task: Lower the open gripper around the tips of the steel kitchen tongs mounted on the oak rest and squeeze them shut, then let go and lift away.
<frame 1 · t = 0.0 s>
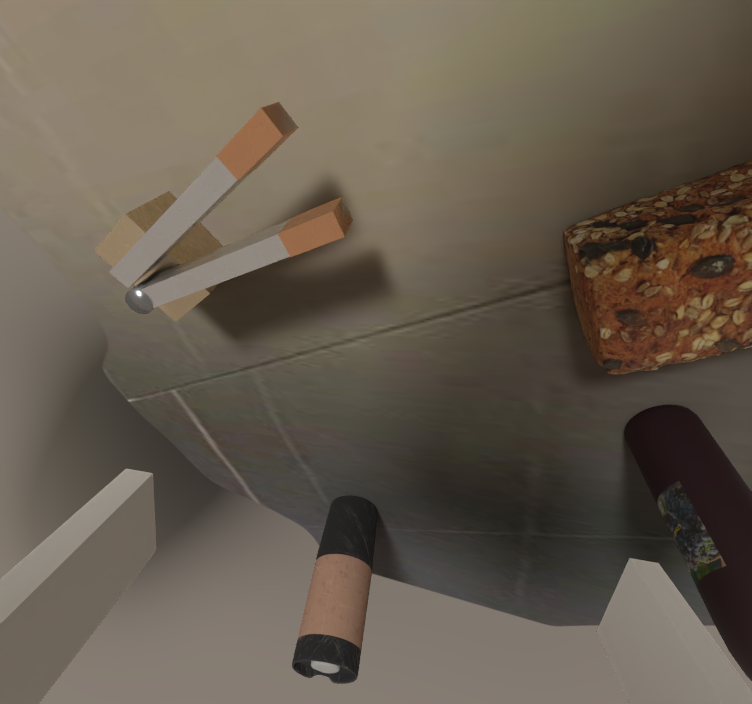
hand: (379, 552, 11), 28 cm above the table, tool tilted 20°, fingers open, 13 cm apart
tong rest: (189, 244, 37), on the table
bread: (688, 236, 32), on the table
travel mug: (354, 508, 61), on the table
wine bottle: (658, 425, 44), on the table
tong arm: (232, 260, 29), point 8 cm above the table, hinge at 15.0°
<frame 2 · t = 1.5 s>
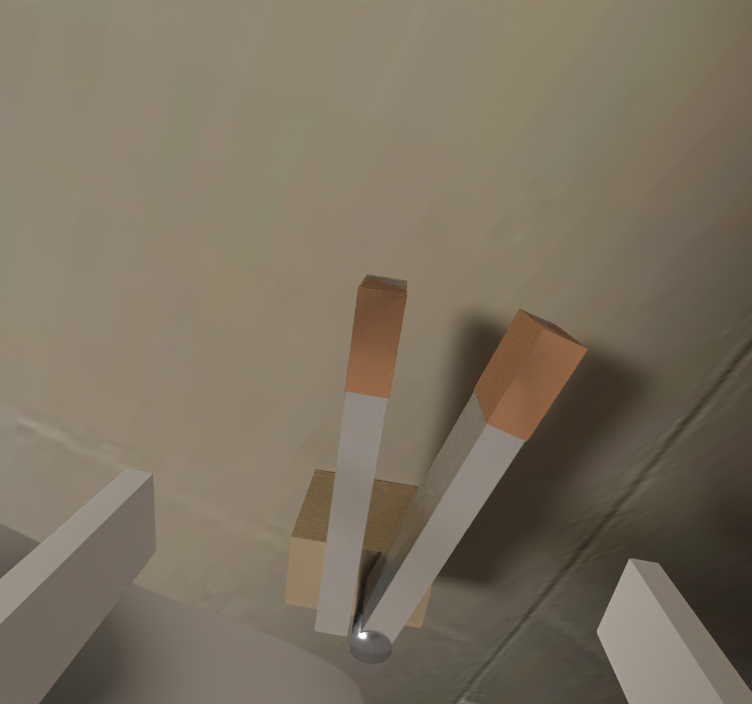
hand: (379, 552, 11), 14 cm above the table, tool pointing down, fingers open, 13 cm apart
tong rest: (368, 509, 28), on the table
tong arm: (443, 503, 18), point 8 cm above the table, hinge at 15.0°
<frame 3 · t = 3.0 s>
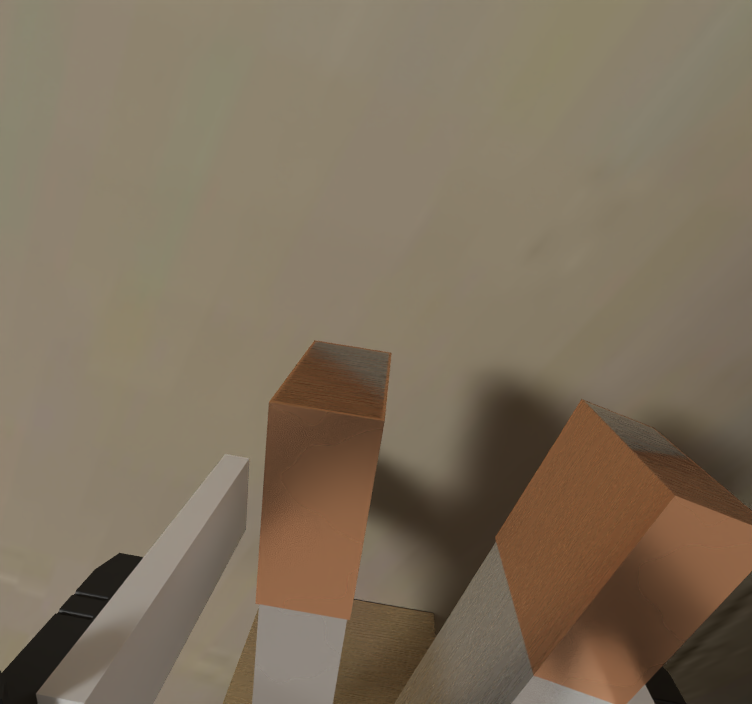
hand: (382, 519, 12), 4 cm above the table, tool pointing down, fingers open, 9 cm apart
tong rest: (343, 636, 20), on the table
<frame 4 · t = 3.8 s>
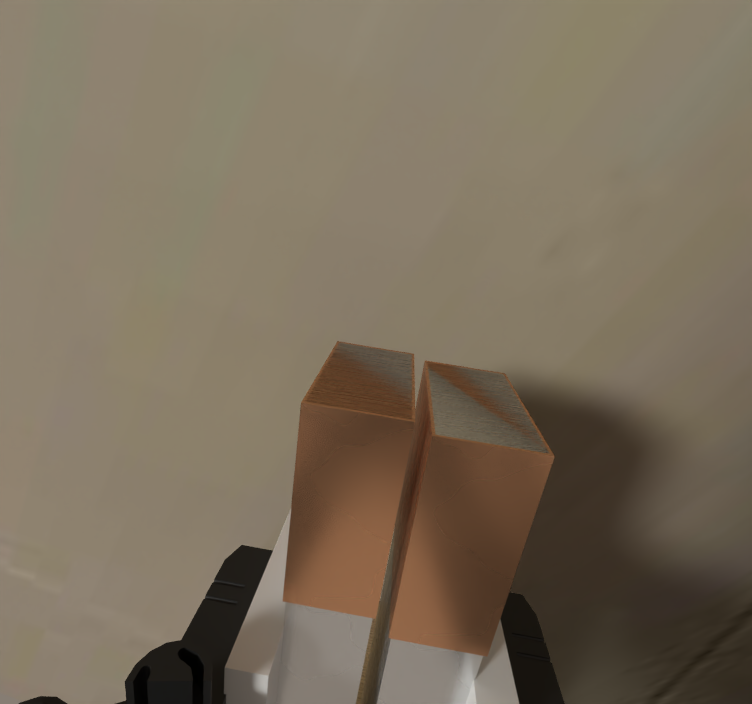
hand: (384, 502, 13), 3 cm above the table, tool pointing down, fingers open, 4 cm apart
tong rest: (355, 635, 20), on the table
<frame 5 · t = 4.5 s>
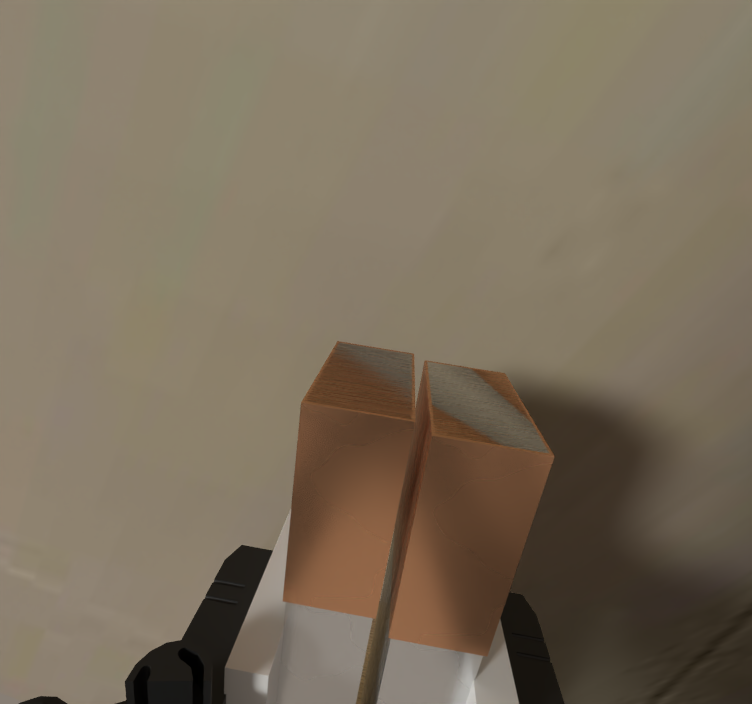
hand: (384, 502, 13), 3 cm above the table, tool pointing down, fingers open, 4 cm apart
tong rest: (355, 635, 20), on the table
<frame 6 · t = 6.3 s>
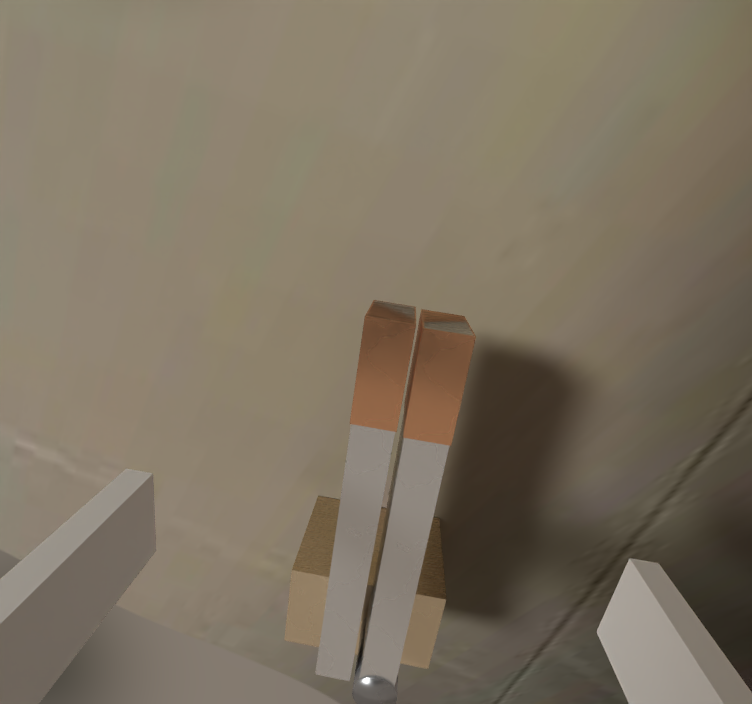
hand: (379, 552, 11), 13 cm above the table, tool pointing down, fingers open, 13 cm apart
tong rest: (372, 537, 27), on the table
tong arm: (404, 526, 17), point 8 cm above the table, hinge at -0.2°
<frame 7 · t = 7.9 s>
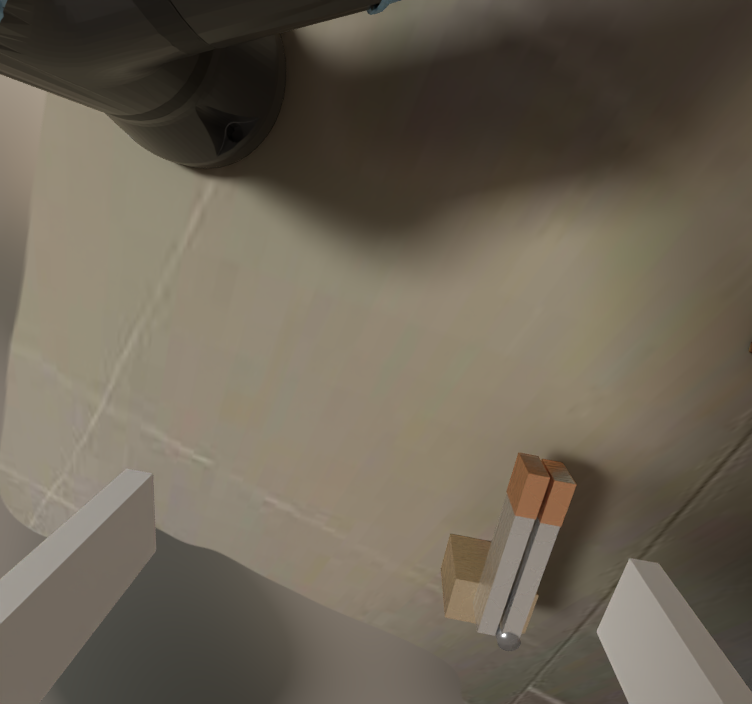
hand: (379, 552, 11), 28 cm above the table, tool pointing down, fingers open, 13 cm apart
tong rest: (480, 558, 45), on the table
tong arm: (528, 558, 35), point 8 cm above the table, hinge at -0.2°
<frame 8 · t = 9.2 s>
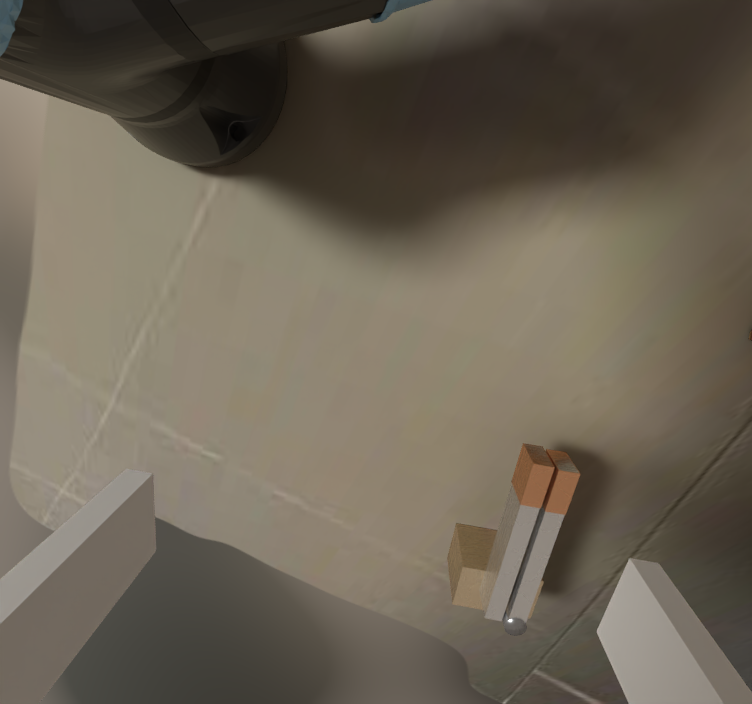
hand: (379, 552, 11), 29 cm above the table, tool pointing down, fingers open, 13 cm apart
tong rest: (486, 546, 46), on the table
tong arm: (533, 546, 36), point 8 cm above the table, hinge at -0.2°
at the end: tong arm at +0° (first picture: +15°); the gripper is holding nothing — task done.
